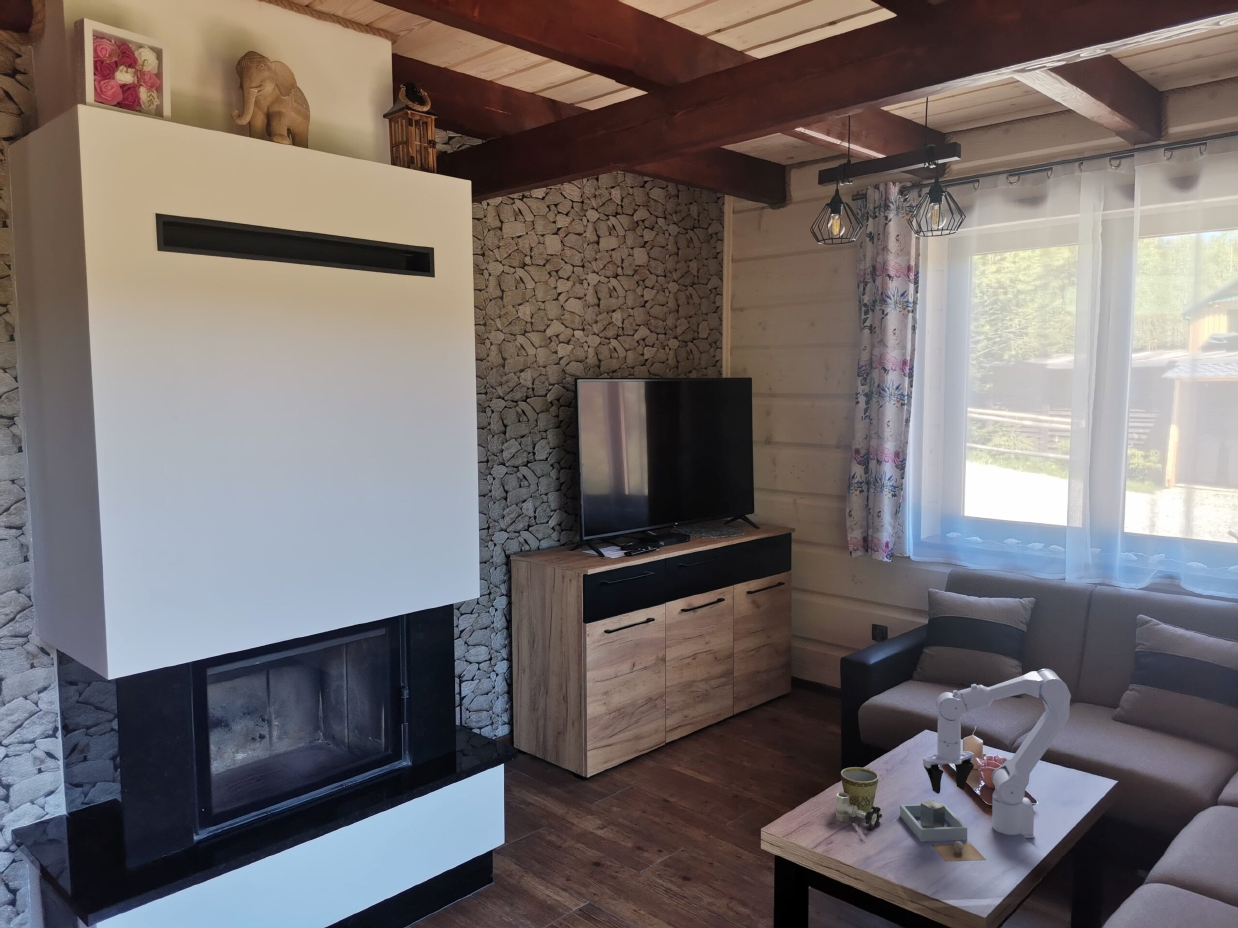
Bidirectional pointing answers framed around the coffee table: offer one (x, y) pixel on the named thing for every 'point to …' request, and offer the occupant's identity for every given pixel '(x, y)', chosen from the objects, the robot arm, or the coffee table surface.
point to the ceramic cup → (860, 786)
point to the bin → (933, 834)
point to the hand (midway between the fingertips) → (948, 789)
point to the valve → (855, 811)
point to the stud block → (958, 852)
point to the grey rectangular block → (932, 814)
